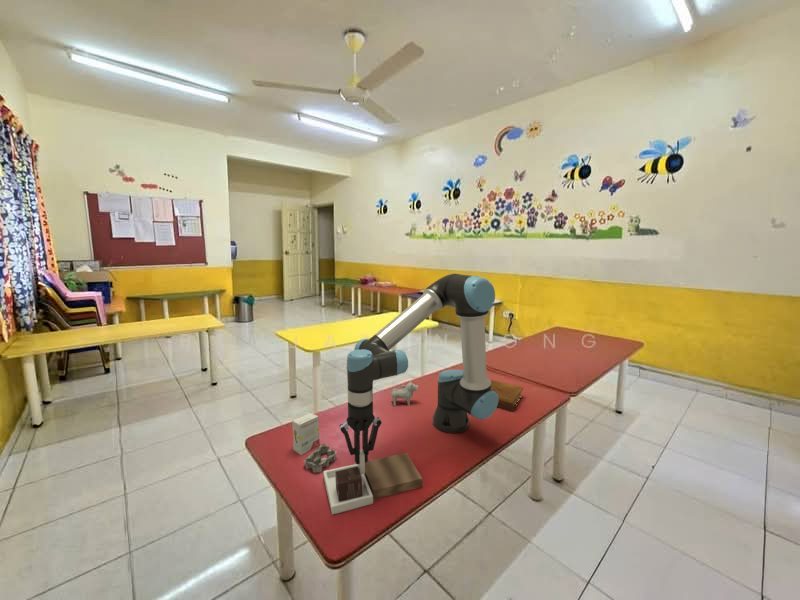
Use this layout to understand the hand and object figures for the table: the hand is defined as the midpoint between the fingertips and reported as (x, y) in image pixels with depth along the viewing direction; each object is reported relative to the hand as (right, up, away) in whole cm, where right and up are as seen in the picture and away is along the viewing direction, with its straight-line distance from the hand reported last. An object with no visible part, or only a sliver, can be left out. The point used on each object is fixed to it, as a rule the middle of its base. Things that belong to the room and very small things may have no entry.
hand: (361, 471), depth 107 cm
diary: (+59, +4, +62) cm, 86 cm away
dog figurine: (+14, +4, +56) cm, 58 cm away
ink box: (-23, -1, +20) cm, 31 cm away
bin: (-4, -5, -1) cm, 7 cm away
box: (0, -2, -2) cm, 3 cm away
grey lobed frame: (-15, -3, +12) cm, 20 cm away
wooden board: (+9, -4, +4) cm, 11 cm away
